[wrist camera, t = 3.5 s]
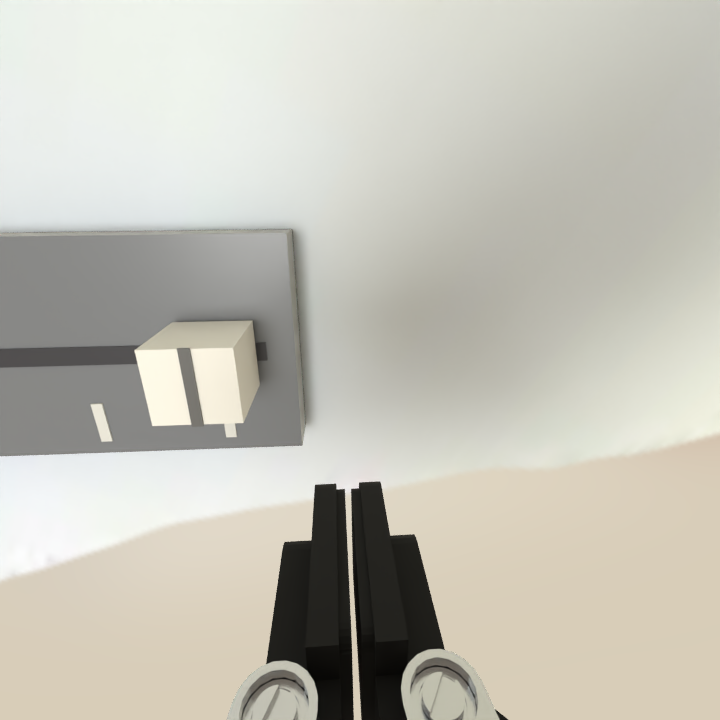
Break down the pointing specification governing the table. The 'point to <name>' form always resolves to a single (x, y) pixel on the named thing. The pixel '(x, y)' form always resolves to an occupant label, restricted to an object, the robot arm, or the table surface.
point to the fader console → (138, 335)
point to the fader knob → (199, 373)
